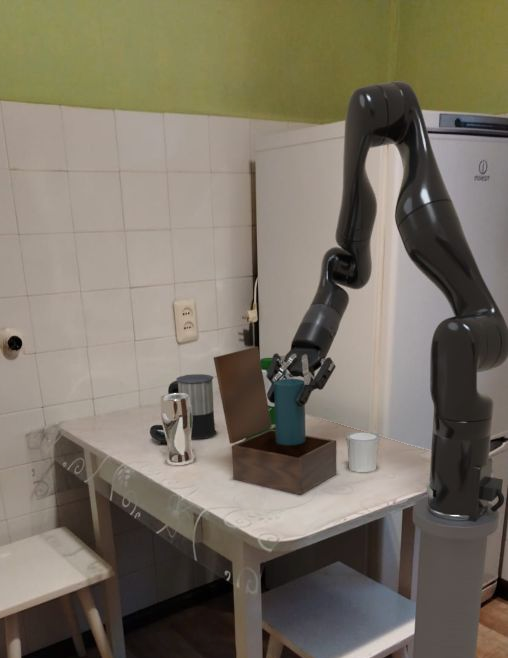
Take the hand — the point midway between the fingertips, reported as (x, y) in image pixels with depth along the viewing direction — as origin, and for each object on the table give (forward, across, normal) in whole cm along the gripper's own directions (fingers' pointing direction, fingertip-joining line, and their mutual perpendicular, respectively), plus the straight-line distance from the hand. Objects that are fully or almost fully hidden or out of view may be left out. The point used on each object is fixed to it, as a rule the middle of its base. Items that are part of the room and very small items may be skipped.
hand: (284, 402), depth 125 cm
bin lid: (-1, -11, +1) cm, 11 cm away
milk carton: (-3, -21, +26) cm, 34 cm away
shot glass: (+1, +9, +22) cm, 24 cm away
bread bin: (+10, -2, +13) cm, 16 cm away
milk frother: (+3, -40, +20) cm, 45 cm away
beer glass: (+13, -28, +10) cm, 32 cm away
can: (+5, 0, +7) cm, 9 cm away
